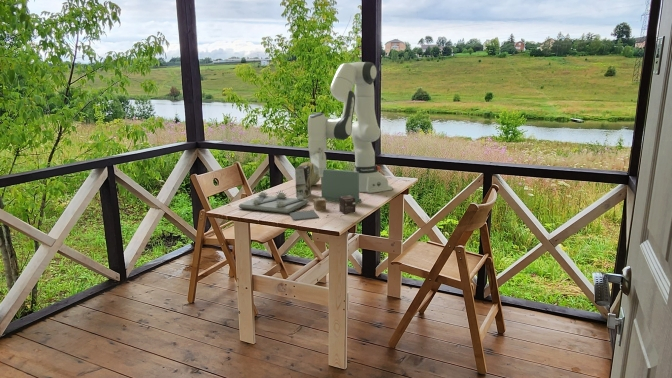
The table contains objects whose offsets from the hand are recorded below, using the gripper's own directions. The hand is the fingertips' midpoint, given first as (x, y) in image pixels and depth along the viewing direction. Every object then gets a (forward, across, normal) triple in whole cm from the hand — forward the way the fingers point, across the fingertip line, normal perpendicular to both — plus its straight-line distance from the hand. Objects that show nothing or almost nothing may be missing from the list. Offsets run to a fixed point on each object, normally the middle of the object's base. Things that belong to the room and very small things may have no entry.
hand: (318, 175), depth 236 cm
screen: (+17, +13, -14) cm, 26 cm away
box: (+17, -10, -11) cm, 23 cm away
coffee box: (+17, +31, +2) cm, 36 cm away
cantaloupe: (+17, +54, -6) cm, 57 cm away
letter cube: (+17, 0, 0) cm, 17 cm away
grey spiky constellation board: (+17, +13, +21) cm, 30 cm away
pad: (+17, -9, +10) cm, 22 cm away
